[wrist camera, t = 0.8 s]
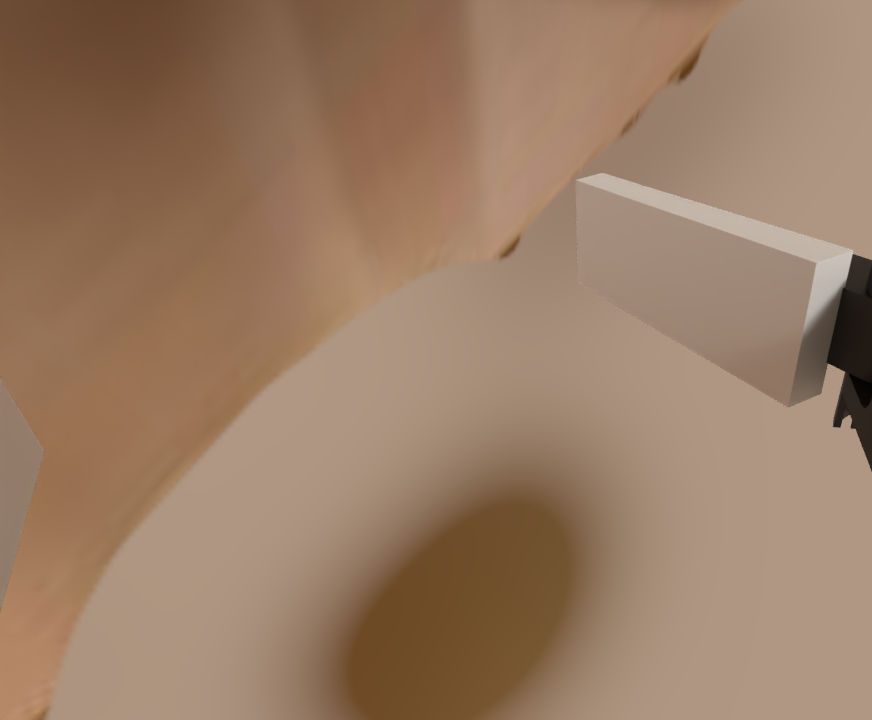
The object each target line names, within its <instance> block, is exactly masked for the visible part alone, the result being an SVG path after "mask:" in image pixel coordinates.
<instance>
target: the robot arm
mask: <svg viewBox="0 0 872 720" xmlns="http://www.w3.org/2000/svg"><path fill="white" fill-rule="evenodd" d="M576 218H577V219H576V221H577V271H578V284H580V285H581V286H583V287H585V288H586V289H588V290H590V291H592V292H593V293H595V294H597V295H598V296H600V297H602V298H603V299H605V300H607V301H608V302H610V303H612V304H613V305H615V306H617V307H619V308H620V309H622V310H624V311H625V312H627V313H629V314H630V315H632V316H634V317H636V318H637V319H639V320H641V321H642V322H644V323H646V324H647V325H649V326H651V327H653V328H654V329H656V330H658V331H659V332H661V333H663V334H665V335H666V336H668V337H670V338H671V339H673V340H675V341H677V342H678V343H680V344H681V345H683V346H685V347H687V348H688V349H690V350H692V351H693V352H695V353H697V354H698V355H700V356H702V357H704V358H705V359H707V360H709V361H710V362H712V363H714V364H716V365H717V366H719V367H720V368H722V369H724V370H726V371H727V372H729V373H731V374H732V375H734V376H736V377H737V378H739V379H741V380H743V381H744V382H746V383H748V384H749V385H751V386H753V387H755V388H757V389H758V390H760V391H761V392H763V393H765V394H766V395H768V396H770V397H772V398H773V399H775V400H777V401H778V402H780V403H782V404H783V405H785V406H787V407H790V406H793V405H795V404H798V403H800V402H802V401H805V400H807V399H810V398H812V397H814V396H817V395H819V394H821V391H822V387H823V382H824V378H825V374H826V369H827V365H828V364H831V365H833V366H835V367H837V368H839V369H841V370H843V371H845V375H844V379H843V383H842V387H841V391H840V395H839V399H838V404H837V408H836V411H835V416H834V421H833V427H841V423H842V419H844V418H845V417H847V416H848V415H851V418H852V424H851V428H854V429H856V431H857V434H858V436H859V439H860V442H861V444H862V447H863V450H864V452H865V455H866V457H867V460H868V463H869V465H870V468H871V470H872V260H869V259H866V258H863V257H860V256H857V255H854V254H853V250H851V249H848V248H845V247H841V246H838V245H835V244H832V243H828V242H825V241H822V240H819V239H815V238H812V237H809V236H805V235H802V234H799V233H796V232H792V231H789V230H786V229H783V228H779V227H776V226H773V225H770V224H766V223H763V222H760V221H757V220H753V219H750V218H747V217H743V216H740V215H737V214H734V213H731V212H727V211H724V210H721V209H718V208H714V207H711V206H708V205H705V204H701V203H698V202H695V201H692V200H688V199H685V198H682V197H679V196H675V195H672V194H669V193H666V192H662V191H659V190H656V189H652V188H649V187H646V186H643V185H639V184H636V183H633V182H630V181H627V180H623V179H620V178H617V177H613V176H610V175H607V174H604V173H601V174H597V175H593V176H589V177H585V178H582V179H578V180H576ZM44 452H45V451H44V449H43V448H42V446H41V444H40V443H39V441H38V439H37V438H36V436H35V434H34V433H33V431H32V429H31V428H30V426H29V424H28V423H27V421H26V419H25V418H24V416H23V414H22V413H21V411H20V409H19V408H18V406H17V404H16V403H15V401H14V399H13V398H12V396H11V394H10V393H9V391H8V389H7V388H6V386H5V385H4V383H3V381H2V380H1V378H0V612H1V608H2V605H3V601H4V597H5V594H6V590H7V586H8V583H9V579H10V575H11V572H12V568H13V564H14V561H15V557H16V554H17V550H18V546H19V543H20V539H21V535H22V532H23V528H24V524H25V521H26V517H27V513H28V510H29V506H30V503H31V499H32V495H33V492H34V488H35V484H36V481H37V477H38V473H39V470H40V466H41V462H42V459H43V455H44Z"/></svg>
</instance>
